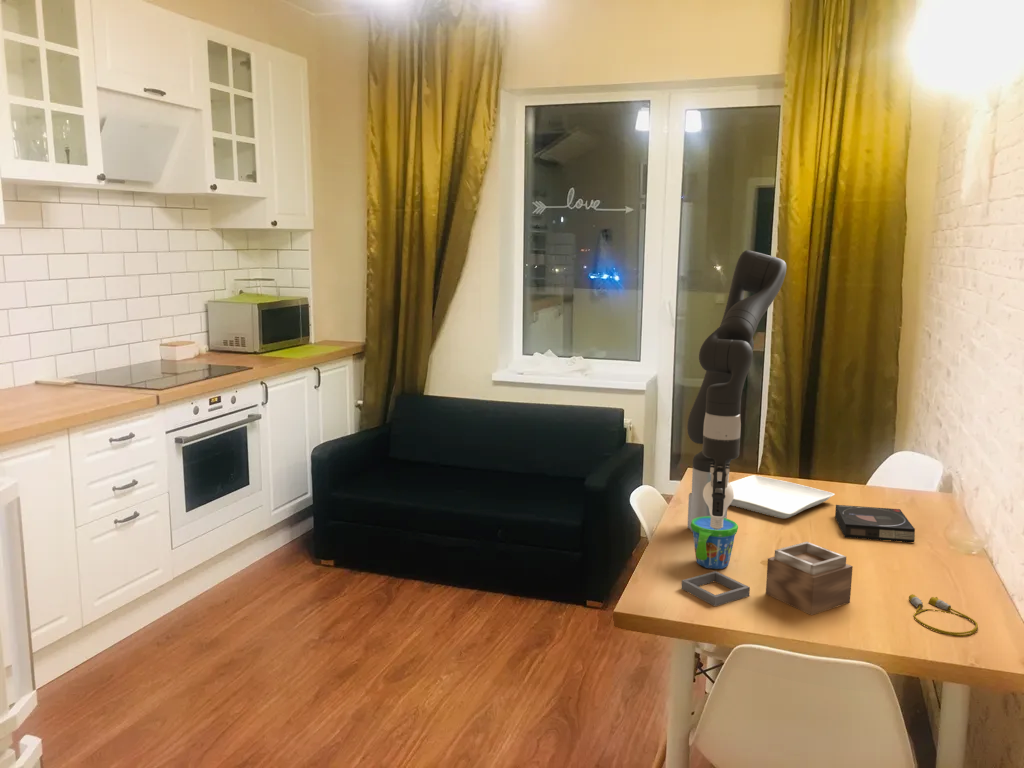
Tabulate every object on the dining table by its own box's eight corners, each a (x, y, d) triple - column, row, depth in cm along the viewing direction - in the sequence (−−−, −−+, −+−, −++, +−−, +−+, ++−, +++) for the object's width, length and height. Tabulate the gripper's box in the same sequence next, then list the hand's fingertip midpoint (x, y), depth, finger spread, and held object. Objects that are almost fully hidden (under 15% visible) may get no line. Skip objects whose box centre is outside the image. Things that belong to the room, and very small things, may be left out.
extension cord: (973, 610, 168) (974, 601, 168) (980, 643, 154) (981, 633, 153) (908, 599, 173) (908, 590, 173) (909, 630, 159) (910, 621, 158)
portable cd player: (844, 539, 208) (846, 524, 208) (834, 518, 225) (835, 504, 224) (914, 545, 204) (915, 530, 204) (898, 523, 221) (900, 509, 220)
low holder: (681, 588, 177) (681, 580, 176) (715, 579, 182) (715, 571, 181) (714, 606, 168) (715, 597, 168) (749, 595, 173) (749, 587, 173)
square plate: (752, 485, 256) (752, 473, 255) (835, 505, 236) (836, 492, 235) (702, 502, 238) (703, 490, 237) (788, 526, 218) (789, 512, 217)
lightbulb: (697, 524, 176) (699, 475, 174) (725, 523, 176) (728, 475, 174) (706, 534, 169) (709, 484, 167) (736, 534, 170) (739, 483, 168)
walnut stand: (765, 593, 174) (768, 549, 173) (803, 582, 180) (806, 539, 179) (811, 615, 164) (814, 568, 163) (849, 602, 170) (853, 557, 169)
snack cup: (707, 549, 200) (709, 510, 198) (748, 560, 193) (750, 519, 191) (675, 568, 188) (677, 526, 187) (717, 580, 181) (719, 536, 180)
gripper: (740, 443, 161) (736, 523, 164) (739, 427, 175) (735, 501, 178) (702, 441, 163) (698, 520, 166) (704, 425, 177) (700, 498, 180)
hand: (717, 510), depth 172 cm, fingers closed on lightbulb, 6 cm apart
